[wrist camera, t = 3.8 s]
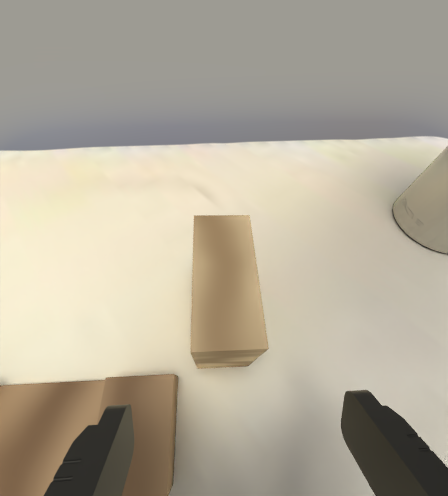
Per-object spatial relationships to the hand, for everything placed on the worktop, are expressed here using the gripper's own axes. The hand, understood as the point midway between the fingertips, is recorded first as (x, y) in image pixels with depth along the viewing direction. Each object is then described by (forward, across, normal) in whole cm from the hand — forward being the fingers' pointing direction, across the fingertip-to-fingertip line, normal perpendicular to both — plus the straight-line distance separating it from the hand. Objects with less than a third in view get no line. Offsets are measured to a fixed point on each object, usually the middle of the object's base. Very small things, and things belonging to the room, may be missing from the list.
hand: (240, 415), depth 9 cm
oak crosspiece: (+12, 0, +2) cm, 12 cm away
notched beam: (+6, +12, +8) cm, 16 cm away
